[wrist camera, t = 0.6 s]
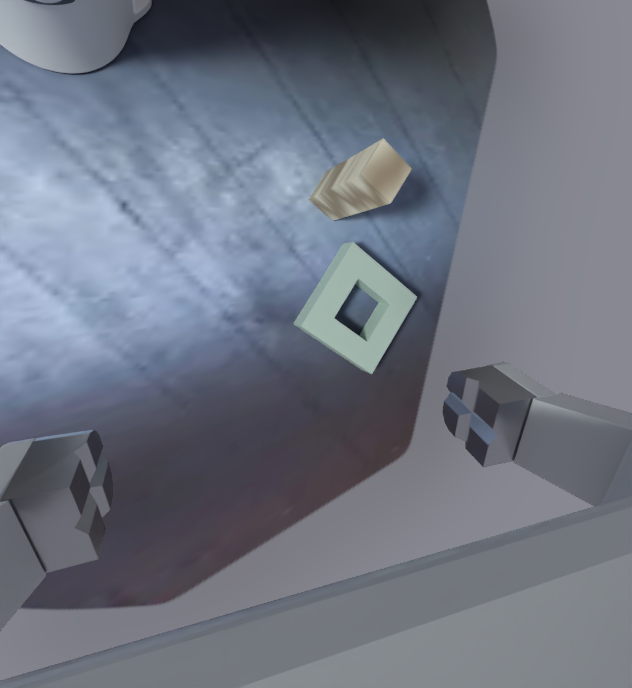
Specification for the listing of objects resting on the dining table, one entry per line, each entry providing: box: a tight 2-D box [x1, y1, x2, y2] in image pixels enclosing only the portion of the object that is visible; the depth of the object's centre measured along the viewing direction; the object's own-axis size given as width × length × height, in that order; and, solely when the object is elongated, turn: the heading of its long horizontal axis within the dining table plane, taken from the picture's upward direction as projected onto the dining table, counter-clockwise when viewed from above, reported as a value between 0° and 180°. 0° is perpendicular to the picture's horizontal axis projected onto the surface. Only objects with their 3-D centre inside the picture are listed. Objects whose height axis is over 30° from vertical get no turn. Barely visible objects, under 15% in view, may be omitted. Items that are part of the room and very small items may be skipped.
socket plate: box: [294, 242, 417, 374], centre depth 55 cm, size 14×14×3 cm
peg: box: [308, 139, 412, 221], centre depth 46 cm, size 4×4×14 cm
